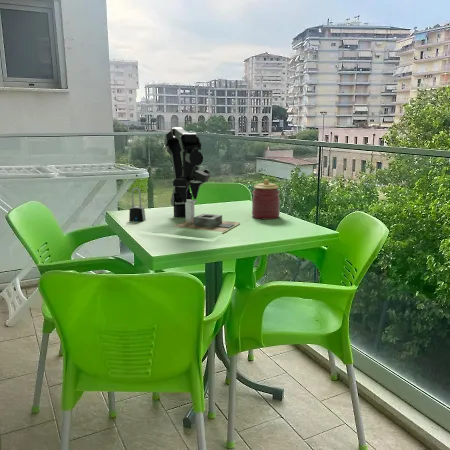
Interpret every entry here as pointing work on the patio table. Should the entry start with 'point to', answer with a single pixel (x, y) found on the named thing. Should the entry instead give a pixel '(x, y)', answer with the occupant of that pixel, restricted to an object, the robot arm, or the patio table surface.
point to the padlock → (136, 210)
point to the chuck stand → (209, 223)
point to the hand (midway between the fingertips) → (190, 200)
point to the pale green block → (190, 211)
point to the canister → (265, 201)
